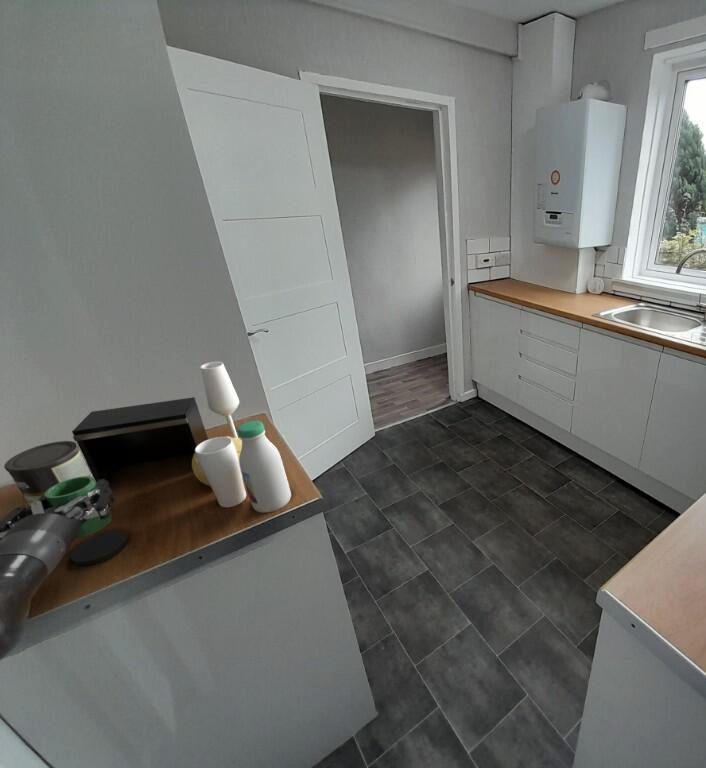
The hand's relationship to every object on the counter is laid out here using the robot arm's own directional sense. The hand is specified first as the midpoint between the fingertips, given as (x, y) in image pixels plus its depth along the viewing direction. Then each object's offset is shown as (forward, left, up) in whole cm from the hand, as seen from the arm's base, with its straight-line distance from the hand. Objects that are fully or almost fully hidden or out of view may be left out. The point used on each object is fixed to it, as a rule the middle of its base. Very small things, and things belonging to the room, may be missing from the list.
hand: (80, 488), depth 75 cm
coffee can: (-10, +15, -13) cm, 22 cm away
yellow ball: (+19, +14, -13) cm, 27 cm away
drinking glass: (+21, +4, -13) cm, 25 cm away
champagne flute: (+19, +30, -13) cm, 38 cm away
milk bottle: (+29, 0, -13) cm, 32 cm away
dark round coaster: (0, -2, -13) cm, 13 cm away
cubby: (+3, +25, -13) cm, 28 cm away
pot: (0, -2, -7) cm, 7 cm away
